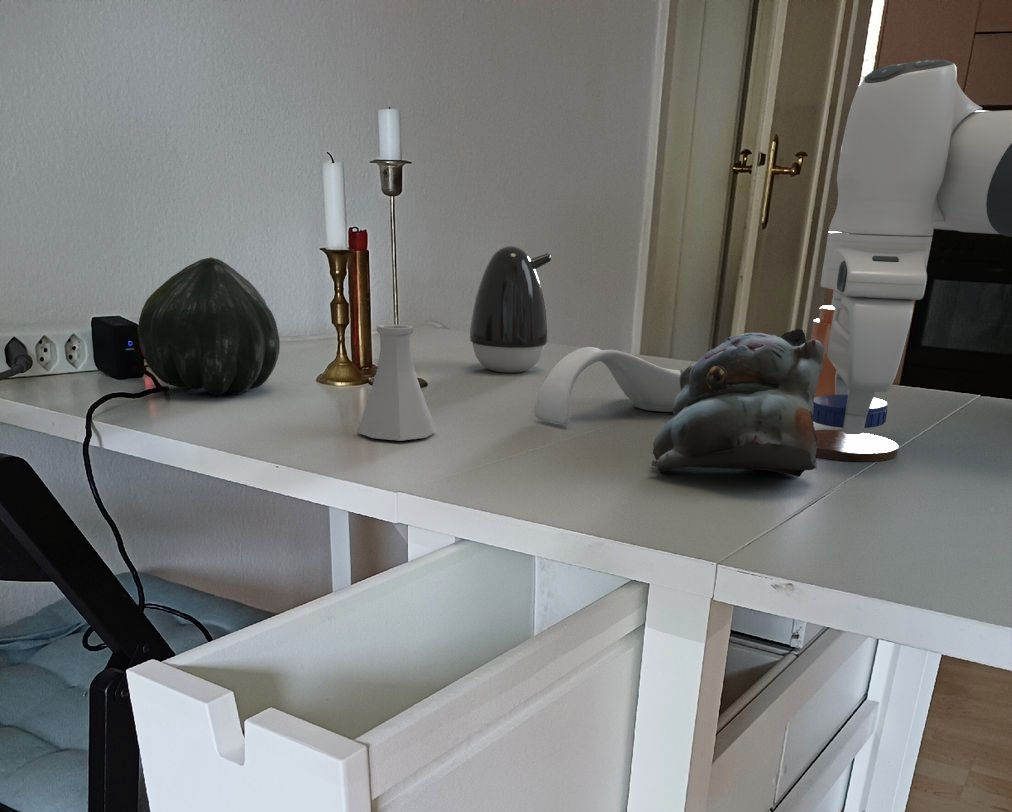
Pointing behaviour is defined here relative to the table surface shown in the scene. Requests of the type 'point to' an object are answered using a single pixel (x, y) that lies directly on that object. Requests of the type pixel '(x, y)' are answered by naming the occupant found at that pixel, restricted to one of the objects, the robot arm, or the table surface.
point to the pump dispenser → (510, 312)
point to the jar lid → (834, 406)
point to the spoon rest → (631, 373)
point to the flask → (396, 392)
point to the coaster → (854, 446)
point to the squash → (209, 330)
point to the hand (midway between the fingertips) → (846, 424)
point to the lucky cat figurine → (746, 407)
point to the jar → (822, 335)
